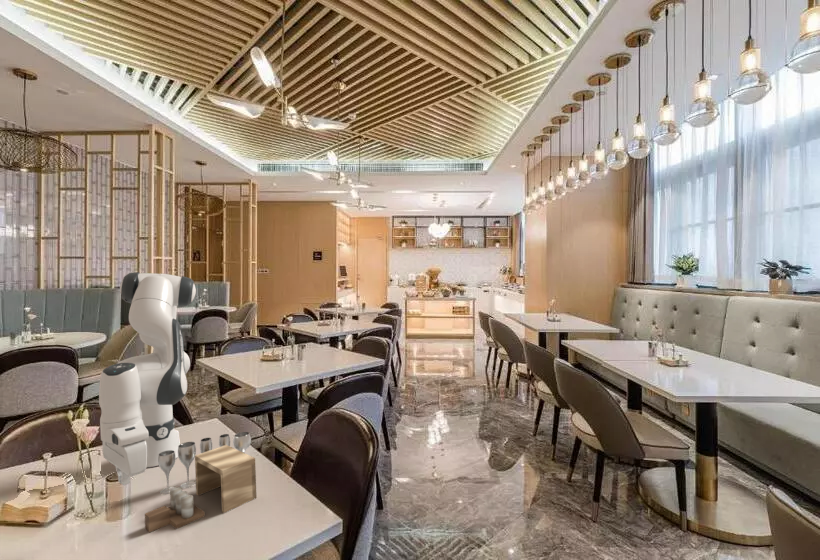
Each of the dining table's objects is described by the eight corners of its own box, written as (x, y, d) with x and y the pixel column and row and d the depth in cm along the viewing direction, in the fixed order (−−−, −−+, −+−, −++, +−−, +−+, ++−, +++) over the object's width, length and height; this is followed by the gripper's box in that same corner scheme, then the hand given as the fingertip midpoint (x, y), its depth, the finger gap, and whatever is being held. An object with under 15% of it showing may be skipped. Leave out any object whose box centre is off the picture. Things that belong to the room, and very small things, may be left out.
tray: (139, 523, 117) (138, 500, 117) (187, 503, 126) (186, 482, 126) (155, 538, 110) (155, 514, 110) (204, 516, 119) (204, 494, 119)
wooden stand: (196, 494, 131) (194, 455, 131) (227, 481, 139) (226, 444, 139) (224, 513, 121) (222, 470, 120) (256, 498, 128) (255, 458, 128)
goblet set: (160, 497, 131) (159, 453, 130) (158, 489, 135) (156, 448, 135) (254, 469, 148) (252, 431, 147) (249, 463, 152) (247, 426, 152)
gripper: (94, 424, 113) (96, 476, 113) (121, 441, 100) (124, 500, 100) (121, 417, 118) (124, 468, 118) (151, 433, 105) (153, 489, 105)
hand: (124, 483), depth 109 cm, fingers closed
